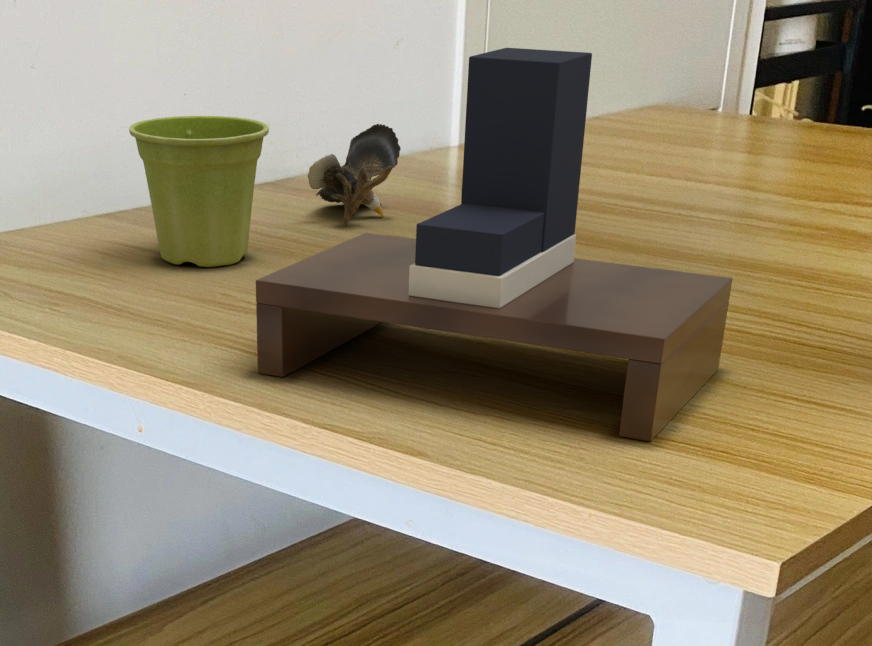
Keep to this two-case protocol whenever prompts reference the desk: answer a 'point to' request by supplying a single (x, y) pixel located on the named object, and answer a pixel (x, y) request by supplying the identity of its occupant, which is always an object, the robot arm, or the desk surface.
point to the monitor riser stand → (509, 318)
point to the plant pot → (201, 184)
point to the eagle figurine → (357, 171)
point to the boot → (510, 181)
